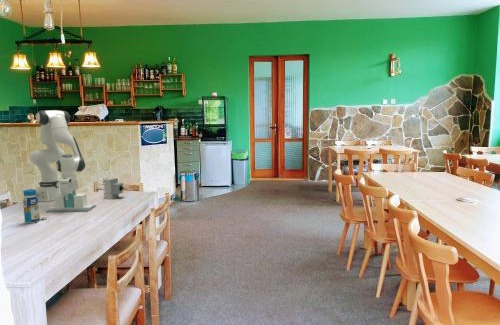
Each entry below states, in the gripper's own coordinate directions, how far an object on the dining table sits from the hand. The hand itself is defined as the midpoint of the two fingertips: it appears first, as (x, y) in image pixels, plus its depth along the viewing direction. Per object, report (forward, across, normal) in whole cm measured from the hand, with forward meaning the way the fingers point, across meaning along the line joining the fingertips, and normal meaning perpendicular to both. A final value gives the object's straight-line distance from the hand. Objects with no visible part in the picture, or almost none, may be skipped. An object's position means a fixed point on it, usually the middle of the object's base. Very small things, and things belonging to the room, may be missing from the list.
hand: (70, 198), depth 273 cm
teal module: (+6, 0, 0) cm, 6 cm away
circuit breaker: (+8, -34, +19) cm, 40 cm away
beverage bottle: (+8, +30, -11) cm, 33 cm away
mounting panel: (+8, 0, 0) cm, 8 cm away
